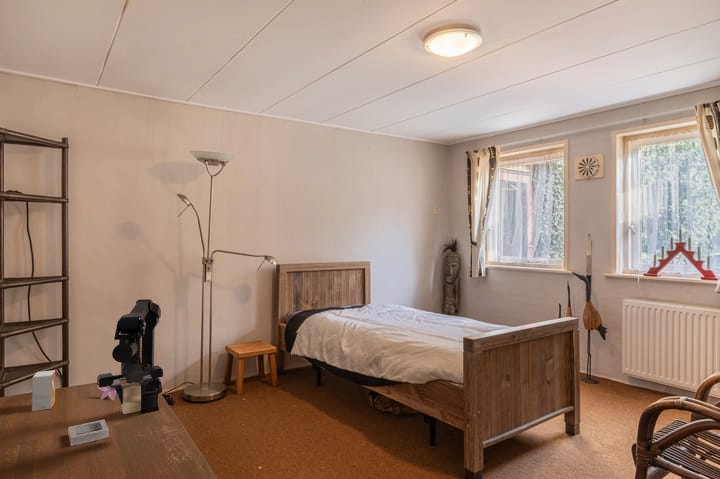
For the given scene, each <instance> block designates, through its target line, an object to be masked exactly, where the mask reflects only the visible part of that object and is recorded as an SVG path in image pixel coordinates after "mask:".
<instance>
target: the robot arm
mask: <svg viewBox="0 0 720 479" xmlns="http://www.w3.org/2000/svg"><path fill="white" fill-rule="evenodd" d="M161 316H162V309H161V307H160V305H159V304H157V303H155V302H153V300H152V299H146V298H145V299H144V298H143V299H138V300H136V301H135V305H134V306H133V308H132V309H131V311H130V312H129V313H127V314H123V315H122V316H121V317H120V318H119V319H118V321H117V324H116V326H115V327H116V329H115V333H114V334H115V335H114V337H113V338H114V340H113V341H118V344H117V345H116V346H115V347H114V348H113V350H112V352H111V356H112V359H113V360H114V361H115V362H117V363H120V374H115V375H113V374H112V372H108V373H102V374H100V373H99V374H98V376H97V378H96V383H97V386H99V387H101V388H102V387H107V386H110V387H111V388H115V390H116V395H117V397H118V400H119V403H120V405H121V404H123V397H122V389H121V386H122V385H123V384H122V383H121V381H124V380H125V382H126V384H130V383H136V382H138V383H139V384H140V385H141V411H139V413H140V414H147V413H150V412H156V411H159V410H160V407H159V395H160V394H162V393H163V386H162V385H163V384H162V381H161V378H163V377H164V369H163V368H162V367H161V366H159V365H158V364H157V365H155V329H156V328H157V325H158V324H159V322H160V318H161ZM120 380H121V381H120ZM121 384H122V385H121Z"/></svg>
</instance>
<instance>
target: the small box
mask: <svg viewBox="0 0 720 479" xmlns="http://www.w3.org/2000/svg"><path fill="white" fill-rule="evenodd" d="M31 380H32V382H31V383H32V386H31V390H32V391H31V397H32V399H31V412H36V411H45V410H51V409H52V408H53V406H54V404H55V403H56V370H55V369H54V370H43V371H36V372H35V373H34V375H33V376H32V379H31Z"/></svg>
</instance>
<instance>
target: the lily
mask: <svg viewBox="0 0 720 479" xmlns="http://www.w3.org/2000/svg"><path fill="white" fill-rule="evenodd" d="M121 381H122V380H120V382H121ZM120 384H121V385H123V384H122V383H120ZM96 388H97V389H99V390H100V391H103V392H102V395H101V396H100V400H103V399H105V398H106V397H109V399H110V400H111V401H115V400H116V395H117V392H116V390H115V388H111V387H110V386H107V387H102V388H101V387H99V386H98V385H97V386H96Z"/></svg>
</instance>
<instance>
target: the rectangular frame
mask: <svg viewBox="0 0 720 479" xmlns="http://www.w3.org/2000/svg"><path fill="white" fill-rule="evenodd" d="M67 432H68V433H67V435H68V439H69V444H70V445H69V446H70V447H73V446H77V445H81V444H85V443H86V444H87V443H90V442H94V441H99V440H102V439H107V438H109V437H110V435H109V434H110V429H109V427H108V425H107V422H106V421H105V419H100V420H95V421H91V422H86V423H80V424H75V425H72V426H68V429H67Z"/></svg>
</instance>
